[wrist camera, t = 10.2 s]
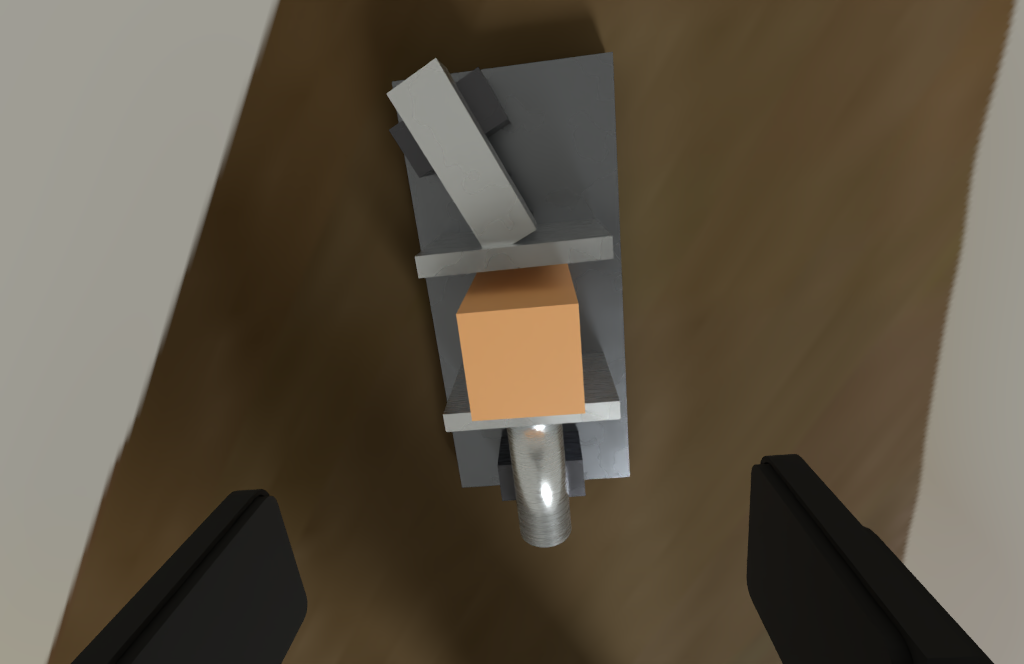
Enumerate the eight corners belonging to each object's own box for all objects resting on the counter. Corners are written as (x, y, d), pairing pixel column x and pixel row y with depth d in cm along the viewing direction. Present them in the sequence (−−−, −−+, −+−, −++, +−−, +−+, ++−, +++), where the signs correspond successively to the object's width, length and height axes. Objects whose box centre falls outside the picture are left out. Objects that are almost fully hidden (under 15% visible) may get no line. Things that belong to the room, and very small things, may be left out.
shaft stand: (625, 460, 28) (649, 546, 22) (465, 470, 28) (446, 557, 22) (607, 58, 21) (636, 19, 15) (401, 86, 22) (347, 60, 16)
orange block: (566, 259, 23) (578, 303, 16) (572, 341, 24) (585, 413, 17) (479, 267, 23) (456, 314, 16) (489, 348, 24) (471, 421, 18)
